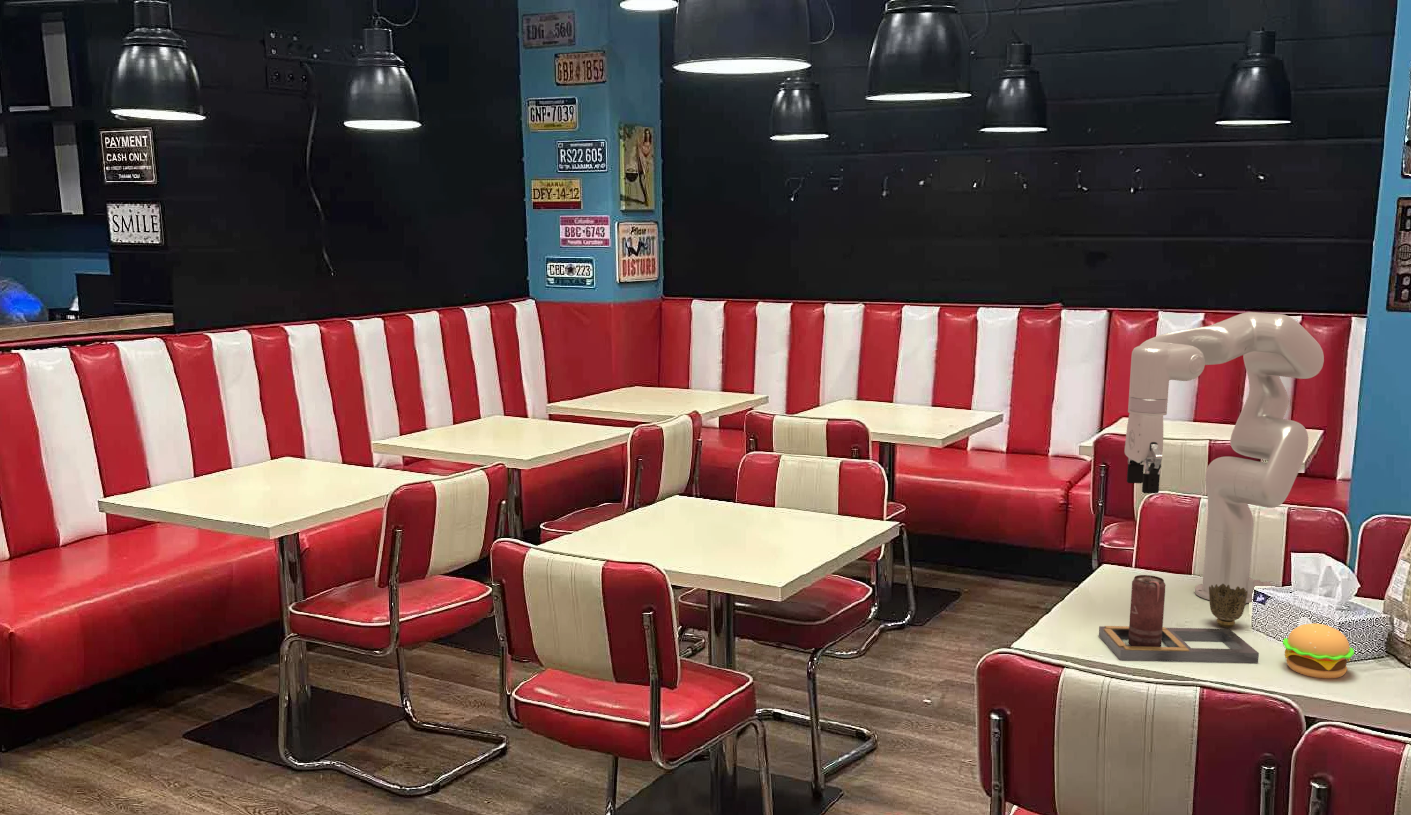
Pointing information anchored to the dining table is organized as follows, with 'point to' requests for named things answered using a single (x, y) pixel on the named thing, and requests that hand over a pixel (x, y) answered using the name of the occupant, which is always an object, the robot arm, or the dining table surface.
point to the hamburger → (1317, 651)
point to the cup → (1227, 604)
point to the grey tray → (1181, 646)
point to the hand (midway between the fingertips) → (1142, 487)
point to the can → (1146, 611)
